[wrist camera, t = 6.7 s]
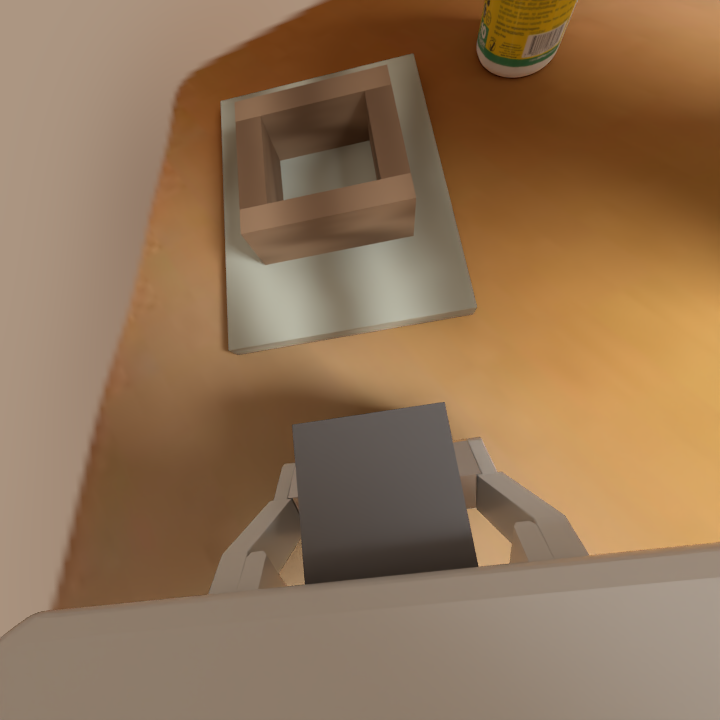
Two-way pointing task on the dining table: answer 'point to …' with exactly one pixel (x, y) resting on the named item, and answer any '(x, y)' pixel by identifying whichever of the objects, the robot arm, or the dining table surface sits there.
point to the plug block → (380, 496)
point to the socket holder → (337, 211)
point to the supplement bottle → (521, 34)
